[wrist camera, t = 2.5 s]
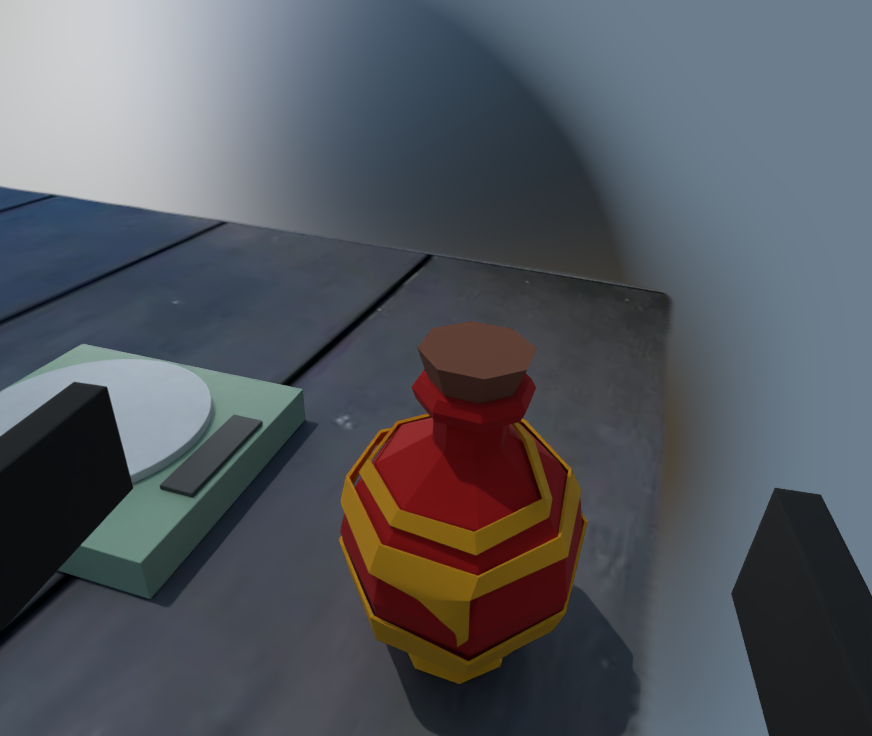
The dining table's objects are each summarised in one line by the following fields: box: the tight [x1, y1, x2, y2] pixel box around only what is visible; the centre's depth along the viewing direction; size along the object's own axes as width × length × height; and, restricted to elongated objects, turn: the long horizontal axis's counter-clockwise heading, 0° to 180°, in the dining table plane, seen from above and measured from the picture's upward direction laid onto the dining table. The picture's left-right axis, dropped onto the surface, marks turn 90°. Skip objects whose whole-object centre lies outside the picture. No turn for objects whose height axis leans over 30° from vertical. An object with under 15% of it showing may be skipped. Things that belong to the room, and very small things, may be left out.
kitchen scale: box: [0, 344, 305, 599], centre depth 38 cm, size 18×16×3 cm
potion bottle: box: [339, 321, 588, 684], centre depth 26 cm, size 10×10×15 cm
